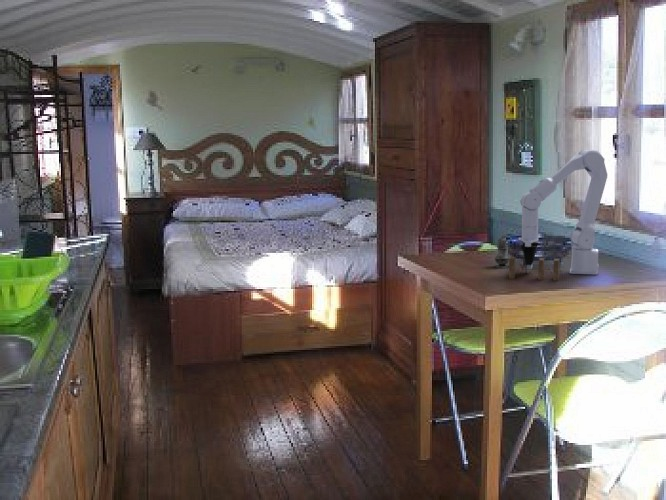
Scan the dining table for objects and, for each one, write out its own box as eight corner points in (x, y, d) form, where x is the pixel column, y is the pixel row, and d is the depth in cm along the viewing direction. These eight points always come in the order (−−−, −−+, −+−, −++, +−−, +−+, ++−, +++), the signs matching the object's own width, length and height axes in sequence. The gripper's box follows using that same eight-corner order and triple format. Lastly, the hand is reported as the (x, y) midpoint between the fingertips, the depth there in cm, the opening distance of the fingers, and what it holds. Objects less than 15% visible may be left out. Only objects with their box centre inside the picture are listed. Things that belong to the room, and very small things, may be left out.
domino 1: (515, 276, 275) (515, 257, 274) (513, 278, 271) (514, 259, 270) (510, 276, 275) (510, 256, 274) (509, 278, 271) (509, 259, 270)
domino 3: (544, 277, 271) (544, 258, 270) (543, 280, 267) (543, 260, 266) (539, 277, 272) (539, 258, 271) (538, 279, 268) (538, 260, 267)
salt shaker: (510, 268, 290) (510, 236, 288) (494, 268, 291) (494, 236, 289) (509, 265, 296) (509, 234, 294) (494, 265, 297) (494, 234, 295)
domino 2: (532, 266, 281) (532, 248, 280) (531, 269, 277) (531, 249, 276) (527, 266, 282) (528, 247, 281) (526, 269, 278) (526, 249, 276)
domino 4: (558, 278, 270) (559, 258, 269) (558, 280, 266) (558, 260, 265) (554, 278, 270) (554, 258, 269) (553, 280, 266) (553, 260, 265)
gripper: (520, 223, 285) (520, 259, 287) (516, 228, 271) (516, 266, 274) (540, 223, 283) (539, 260, 285) (537, 229, 269) (536, 267, 271)
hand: (529, 263), depth 279 cm, fingers closed on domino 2, 4 cm apart
